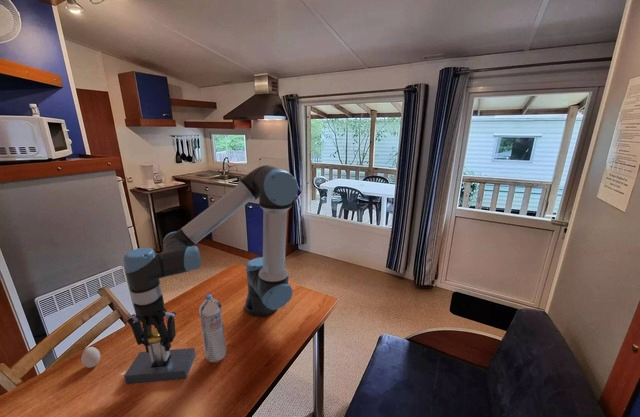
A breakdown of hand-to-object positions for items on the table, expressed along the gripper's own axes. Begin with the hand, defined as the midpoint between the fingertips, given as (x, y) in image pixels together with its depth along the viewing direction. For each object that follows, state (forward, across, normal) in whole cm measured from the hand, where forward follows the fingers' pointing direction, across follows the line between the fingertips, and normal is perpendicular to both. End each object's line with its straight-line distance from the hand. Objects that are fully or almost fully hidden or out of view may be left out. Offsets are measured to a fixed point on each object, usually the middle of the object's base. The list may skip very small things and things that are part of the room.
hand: (160, 358), depth 85 cm
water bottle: (+5, -16, -4) cm, 17 cm away
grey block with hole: (+5, 0, 0) cm, 5 cm away
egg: (+5, +24, -4) cm, 25 cm away
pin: (+5, 0, 0) cm, 5 cm away
